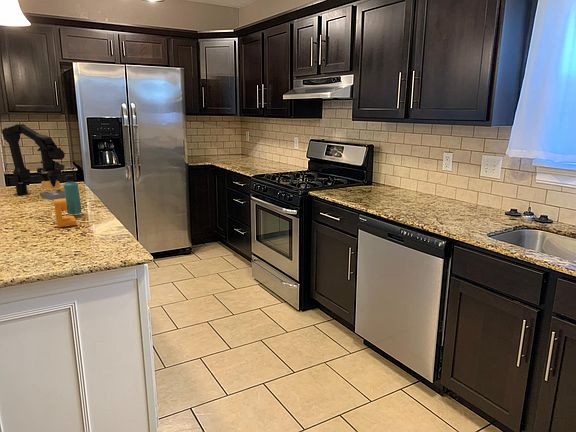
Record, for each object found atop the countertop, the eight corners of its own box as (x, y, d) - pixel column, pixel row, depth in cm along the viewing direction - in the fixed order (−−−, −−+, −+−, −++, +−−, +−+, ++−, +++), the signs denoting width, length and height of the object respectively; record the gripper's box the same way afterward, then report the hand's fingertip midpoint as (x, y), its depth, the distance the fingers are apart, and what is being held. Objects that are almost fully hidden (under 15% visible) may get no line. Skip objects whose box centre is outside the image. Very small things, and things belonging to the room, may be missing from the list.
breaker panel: (40, 196, 249) (39, 191, 249) (61, 193, 259) (60, 188, 258) (50, 199, 241) (50, 194, 240) (72, 196, 250) (71, 191, 249)
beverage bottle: (85, 215, 208) (80, 174, 203) (73, 218, 202) (68, 176, 197) (75, 213, 210) (70, 173, 205) (64, 216, 204) (58, 175, 199)
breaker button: (48, 196, 248) (47, 190, 247) (54, 195, 251) (53, 189, 250) (50, 197, 246) (50, 191, 245) (56, 196, 248) (56, 190, 248)
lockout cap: (42, 187, 246) (41, 181, 245) (54, 186, 252) (53, 179, 251) (47, 189, 242) (46, 182, 241) (60, 187, 248) (59, 181, 247)
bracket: (76, 226, 188) (73, 200, 185) (58, 228, 184) (54, 201, 181) (74, 221, 197) (71, 195, 194) (56, 223, 193) (53, 197, 190)
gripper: (69, 159, 243) (72, 185, 247) (54, 156, 254) (57, 182, 258) (48, 160, 235) (52, 188, 239) (34, 158, 246) (38, 184, 250)
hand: (51, 185), depth 247 cm, fingers closed on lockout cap, 7 cm apart
